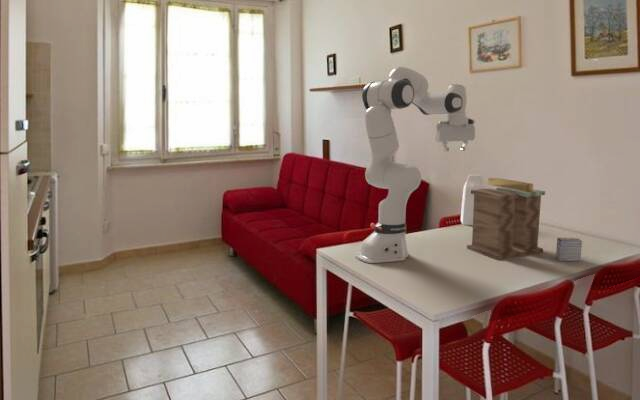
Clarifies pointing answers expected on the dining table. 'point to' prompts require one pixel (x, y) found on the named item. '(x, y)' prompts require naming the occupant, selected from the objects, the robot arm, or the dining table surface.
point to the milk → (470, 198)
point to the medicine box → (568, 249)
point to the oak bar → (510, 184)
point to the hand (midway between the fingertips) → (454, 150)
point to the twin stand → (505, 222)
